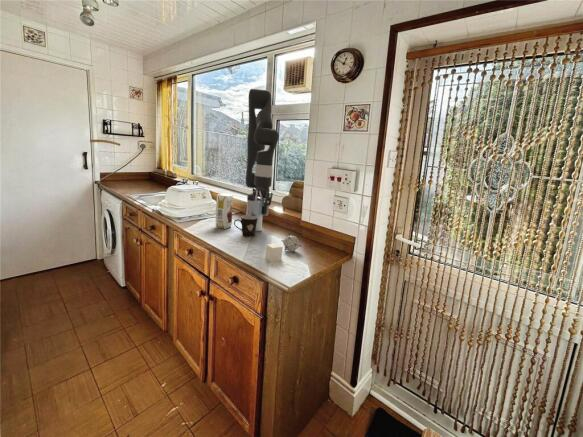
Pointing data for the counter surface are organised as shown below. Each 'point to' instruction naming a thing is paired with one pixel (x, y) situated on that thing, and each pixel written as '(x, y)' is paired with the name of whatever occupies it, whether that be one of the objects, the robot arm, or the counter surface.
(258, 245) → the counter surface
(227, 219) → the juice carton
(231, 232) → the counter surface
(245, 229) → the coffee mug
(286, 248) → the game die
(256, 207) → the slate block
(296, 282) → the counter surface
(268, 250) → the cream block
